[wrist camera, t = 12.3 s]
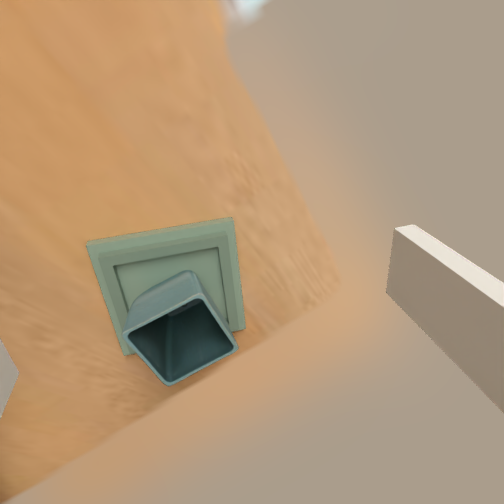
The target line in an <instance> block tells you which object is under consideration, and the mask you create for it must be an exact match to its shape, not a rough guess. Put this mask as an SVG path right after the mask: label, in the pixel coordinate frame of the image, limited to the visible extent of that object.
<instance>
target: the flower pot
mask: <svg viewBox="0 0 504 504" xmlns="http://www.w3.org/2000/svg"><path fill="white" fill-rule="evenodd" d="M184 304H186V305H185V306H184ZM121 336H122V338H123V339H124V341H125V342H126V343H127V344H128V345H129V346H130V347H131V348H132V349H133V350H134V351H135V352H136V353H137V355H138V356H139V357H140V358H141V359H142V360H143V361H144V362H145V363H146V364H147V365H148V367H149V368H150V369H151V370H152V371H153V372H154V373H155V374H156V376H157V377H158V378H159V379H160V380H161V381H162V383H163V384H165V385H167V386H171V385H173V384H176V383H177V382H179V381H181V380H183V379H185V378H187V377H188V376H190V375H192V374H194V373H196V372H198V371H200V370H202V369H203V368H205V367H207V366H209V365H211V364H213V363H215V362H217V361H219V360H221V359H222V358H224V357H226V356H229V355H231V354H233V353H234V352H236V351H237V350H238V349H239V347H238V345H237V343H236V340H235V338H234V336H233V334H232V332H231V330H230V328H229V326H228V324H227V322H226V320H225V318H224V316H223V315H222V313H221V312H220V310H219V309H218V307H217V306H216V304H215V303H214V301H213V300H212V298H211V297H210V295H209V294H208V292H207V291H206V289H205V288H204V286H203V284H202V283H201V281H200V280H199V278H198V277H197V275H196V274H195V273H194V272H193V271H191V270H184V271H182V272H180V273H178V274H176V275H174V276H172V277H170V278H168V279H166V280H165V281H163V282H161V283H159V284H157V285H155V286H153V287H151V288H149V289H148V290H146V291H145V292H143V293H142V294H141V295H139V296H138V297H137V298H136V299H135V300H134V302H133V303H132V305H131V307H130V309H129V312H128V315H127V318H126V322H125V325H124V328H123V331H122V334H121Z"/></svg>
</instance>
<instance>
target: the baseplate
mask: <svg viewBox="0 0 504 504" xmlns="http://www.w3.org/2000/svg"><path fill="white" fill-rule="evenodd" d="M86 247H87V250H88V253H89V256H90V259H91V262H92V265H93V268H94V270H95V273H96V276H97V279H98V282H99V285H100V288H101V291H102V294H103V297H104V299H105V302H106V305H107V308H108V311H109V314H110V317H111V320H112V323H113V326H114V328H115V331H116V334H117V337H118V340H119V343H120V346H121V349H122V352H123V355H124V356H125V355H130V354H135V353H136V352H135V351H134V350H133V349H132V348H131V347H130V346H129V345H128V344H127V343H126V342H125V341H124V339H123V338H122V336H121V334H122V331H123V328H124V325H125V322H126V318H127V315H128V312H129V309H130V307H131V305H132V303H133V302H134V300H135V299H136V298H137V297H138V296H139V295H141V294H142V293H143V292H145V291H146V290H148V289H149V288H151V287H153V286H155V285H157V284H159V283H161V282H163V281H165V280H166V279H168V278H170V277H172V276H174V275H176V274H178V273H180V272H182V271H184V270H191V271H193V272H194V273H195V274H196V275H197V277H198V278H199V280H200V281H201V283H202V284H203V286H204V288H205V289H206V291H207V292H208V294H209V295H210V297H211V298H212V300H213V301H214V303H215V304H216V306H217V307H218V309H219V310H220V312H221V313H222V315H223V316H224V318H225V320H226V322H227V324H228V326H229V328H230V330H231V332H234V331H238V330H243V329H246V325H245V316H244V308H243V299H242V290H241V281H240V272H239V263H238V254H237V245H236V237H235V228H234V220H233V218H232V217H228V218H222V219H216V220H210V221H204V222H198V223H192V224H186V225H181V226H175V227H169V228H163V229H157V230H151V231H145V232H139V233H133V234H127V235H121V236H115V237H109V238H104V239H98V240H92V241H88V242H87V245H86ZM185 305H186V304H184V306H185Z"/></svg>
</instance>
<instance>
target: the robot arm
mask: <svg viewBox="0 0 504 504" xmlns="http://www.w3.org/2000/svg"><path fill="white" fill-rule="evenodd" d="M386 293H387V294H388V295H389V296H390V297H391V298H392V299H393V300H394V301H395V302H396V303H397V304H398V305H399V306H400V307H401V308H402V309H403V310H404V311H405V312H406V314H408V316H409V317H410V318H411V319H412V320H413V321H414V322H415V323H416V324H417V325H418V326H419V327H420V328H421V329H422V330H423V331H424V332H425V333H426V334H427V335H428V336H429V337H430V338H431V339H432V340H433V341H434V342H435V343H436V344H437V345H438V346H439V347H440V348H441V349H442V350H443V351H444V352H445V353H446V354H447V356H448V357H449V358H450V359H451V360H452V361H453V362H454V363H455V364H456V365H457V366H458V367H459V368H460V369H461V370H462V371H463V372H464V373H465V374H466V375H467V376H468V377H469V378H470V379H471V380H472V381H473V382H474V383H475V384H476V385H477V386H478V387H479V388H480V389H481V390H482V391H483V392H484V393H485V394H486V395H487V396H488V397H489V399H490V400H491V401H492V402H493V403H494V404H495V405H496V406H497V407H498V408H499V409H500V410H501V411H502V412H503V413H504V283H503V282H501V281H500V280H498V279H496V278H495V277H494V276H492V275H490V274H489V273H487V272H486V271H484V270H482V269H481V268H480V267H478V266H477V265H475V264H473V263H472V262H471V261H469V260H468V259H466V258H464V257H463V256H461V255H460V254H458V253H457V252H455V251H454V250H452V249H451V248H449V247H448V246H446V245H445V244H443V243H442V242H440V241H438V240H437V239H435V238H434V237H432V236H431V235H429V234H428V233H426V232H425V231H423V230H421V229H420V228H419V227H417V226H416V225H408V226H403V227H398V228H394V234H393V242H392V249H391V257H390V265H389V273H388V281H387V289H386ZM18 375H19V371H18V370H17V368H16V366H15V364H14V362H13V361H12V359H11V357H10V355H9V353H8V352H7V350H6V348H5V346H4V344H3V343H2V341H1V339H0V418H1V416H2V414H3V411H4V409H5V406H6V404H7V402H8V399H9V397H10V394H11V392H12V390H13V387H14V385H15V382H16V380H17V378H18Z"/></svg>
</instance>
